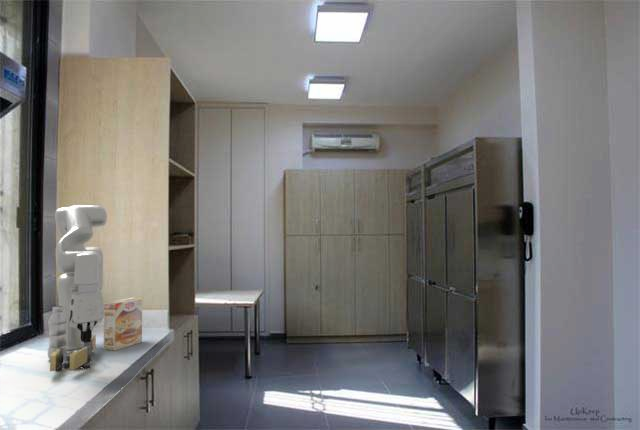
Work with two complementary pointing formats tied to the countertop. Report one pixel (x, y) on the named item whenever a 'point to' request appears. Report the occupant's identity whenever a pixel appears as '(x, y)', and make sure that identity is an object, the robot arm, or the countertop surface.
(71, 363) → the tan block
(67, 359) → the tribrach base
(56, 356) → the brushed brass bar
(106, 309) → the coffeecake box
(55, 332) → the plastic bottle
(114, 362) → the countertop surface
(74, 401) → the countertop surface
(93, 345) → the knob
